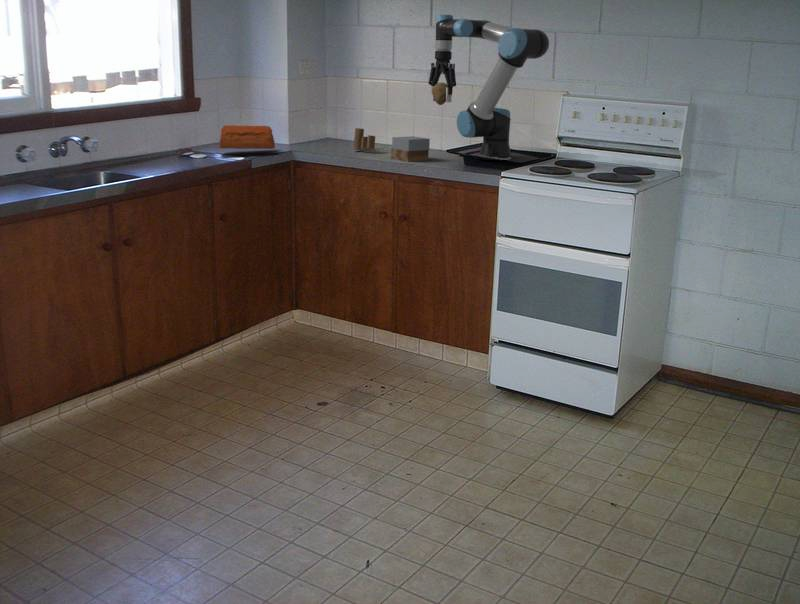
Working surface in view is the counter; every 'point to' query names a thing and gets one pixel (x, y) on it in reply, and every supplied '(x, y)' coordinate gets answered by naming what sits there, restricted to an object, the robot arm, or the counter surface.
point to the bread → (246, 137)
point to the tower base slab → (409, 155)
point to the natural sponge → (439, 93)
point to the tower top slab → (410, 143)
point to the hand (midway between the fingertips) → (441, 101)
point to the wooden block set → (363, 140)
